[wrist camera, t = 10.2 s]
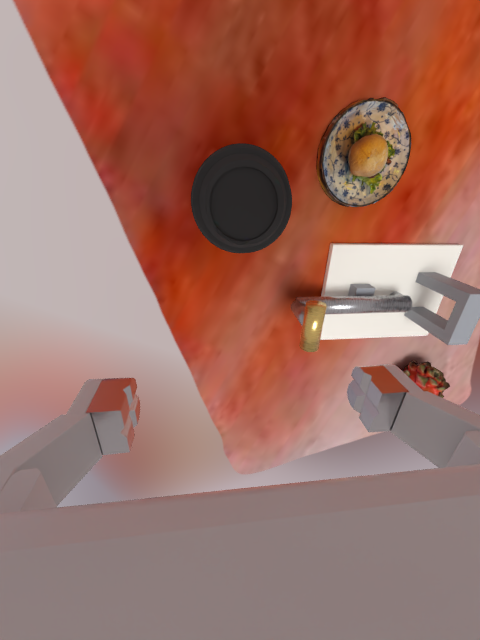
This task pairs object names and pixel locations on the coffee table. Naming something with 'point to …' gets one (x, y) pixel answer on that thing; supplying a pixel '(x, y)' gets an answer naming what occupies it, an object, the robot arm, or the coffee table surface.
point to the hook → (341, 311)
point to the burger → (364, 152)
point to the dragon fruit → (427, 377)
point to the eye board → (400, 291)
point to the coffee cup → (241, 198)
